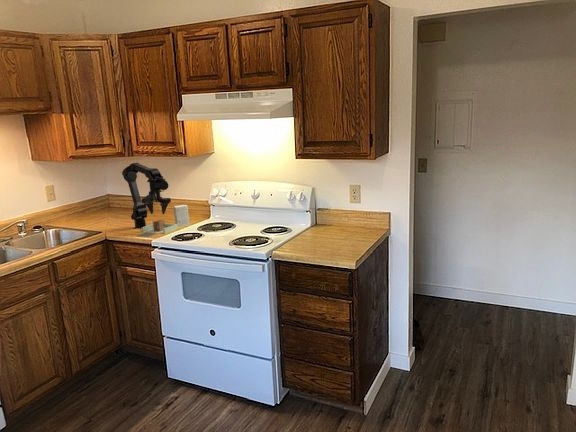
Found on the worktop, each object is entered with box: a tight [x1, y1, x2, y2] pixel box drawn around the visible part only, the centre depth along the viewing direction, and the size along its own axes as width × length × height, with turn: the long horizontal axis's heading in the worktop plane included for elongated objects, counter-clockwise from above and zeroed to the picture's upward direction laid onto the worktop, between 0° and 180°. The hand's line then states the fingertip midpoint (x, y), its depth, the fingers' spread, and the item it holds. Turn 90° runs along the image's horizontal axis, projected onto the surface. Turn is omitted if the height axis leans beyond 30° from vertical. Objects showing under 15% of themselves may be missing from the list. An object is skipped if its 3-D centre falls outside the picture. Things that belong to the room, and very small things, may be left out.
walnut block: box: [152, 219, 166, 231], centre depth 295 cm, size 5×5×6 cm
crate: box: [141, 223, 179, 234], centre depth 295 cm, size 18×12×3 cm, turn 64°
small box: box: [173, 204, 191, 228], centre depth 306 cm, size 8×6×13 cm
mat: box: [136, 232, 159, 238], centre depth 285 cm, size 10×9×1 cm
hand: (157, 214), depth 293 cm, fingers open, 9 cm apart
